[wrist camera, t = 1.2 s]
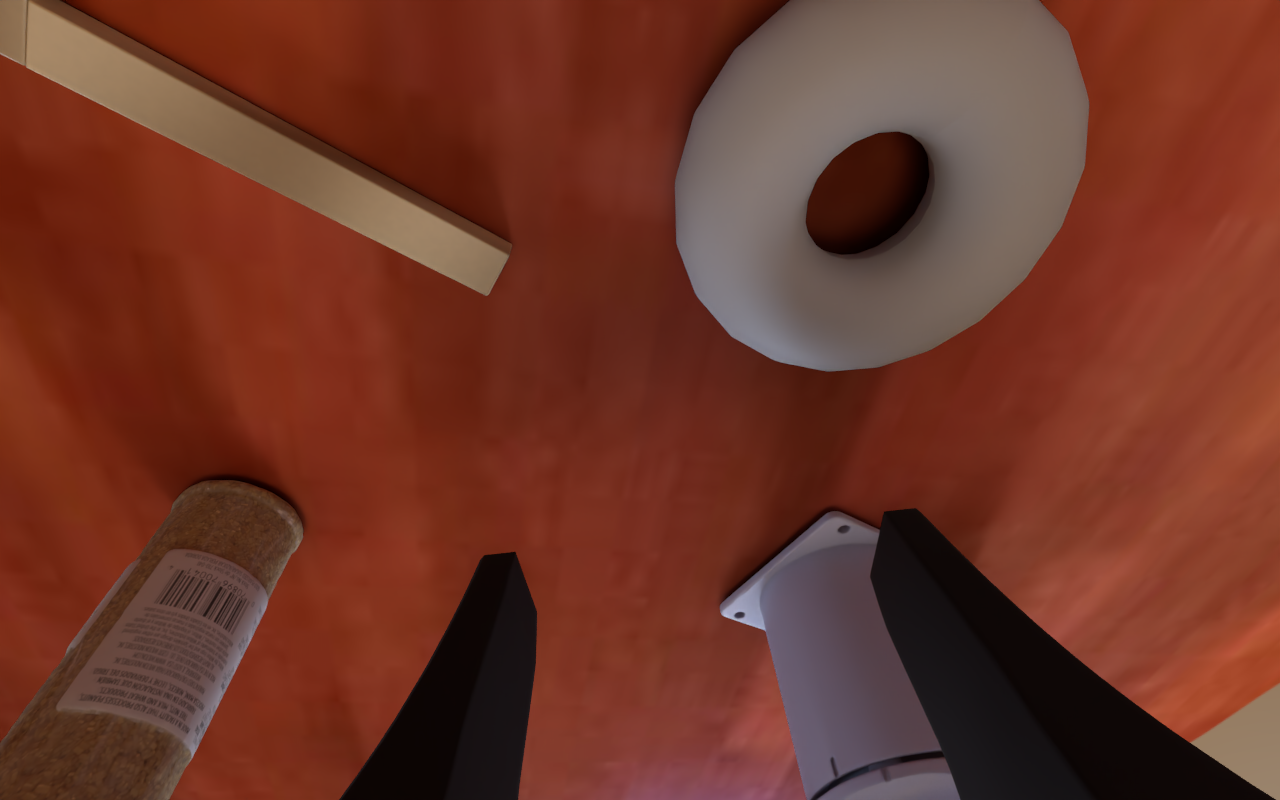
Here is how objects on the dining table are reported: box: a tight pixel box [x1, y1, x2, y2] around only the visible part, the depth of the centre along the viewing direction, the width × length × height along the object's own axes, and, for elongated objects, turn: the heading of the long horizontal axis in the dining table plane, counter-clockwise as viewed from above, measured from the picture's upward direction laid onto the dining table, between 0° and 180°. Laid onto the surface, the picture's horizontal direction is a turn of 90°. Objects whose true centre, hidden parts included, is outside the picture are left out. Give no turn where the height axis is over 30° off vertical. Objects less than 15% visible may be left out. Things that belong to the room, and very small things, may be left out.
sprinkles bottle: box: [0, 480, 303, 800], centre depth 18 cm, size 5×5×13 cm
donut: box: [675, 0, 1089, 372], centre depth 15 cm, size 10×4×10 cm
